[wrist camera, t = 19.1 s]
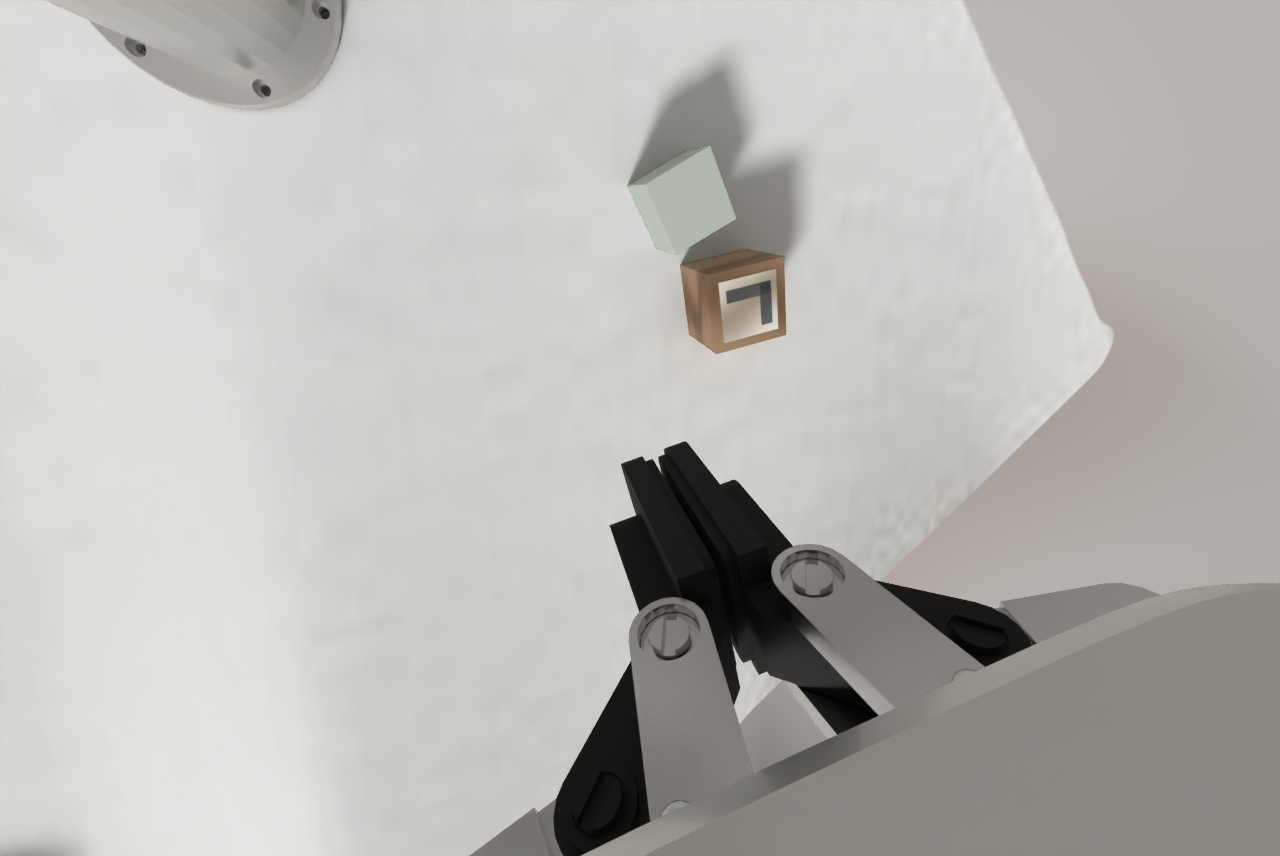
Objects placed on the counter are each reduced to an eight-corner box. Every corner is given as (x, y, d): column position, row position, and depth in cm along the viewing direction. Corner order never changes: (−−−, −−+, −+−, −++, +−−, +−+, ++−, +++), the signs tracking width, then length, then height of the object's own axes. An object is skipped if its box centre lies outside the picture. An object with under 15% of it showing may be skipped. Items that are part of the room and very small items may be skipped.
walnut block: (784, 256, 34) (746, 248, 40) (708, 275, 33) (679, 264, 39) (786, 335, 37) (750, 318, 43) (717, 354, 36) (689, 334, 42)
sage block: (626, 186, 35) (645, 184, 31) (683, 151, 35) (710, 145, 31) (655, 248, 38) (676, 254, 33) (708, 216, 38) (736, 218, 33)
